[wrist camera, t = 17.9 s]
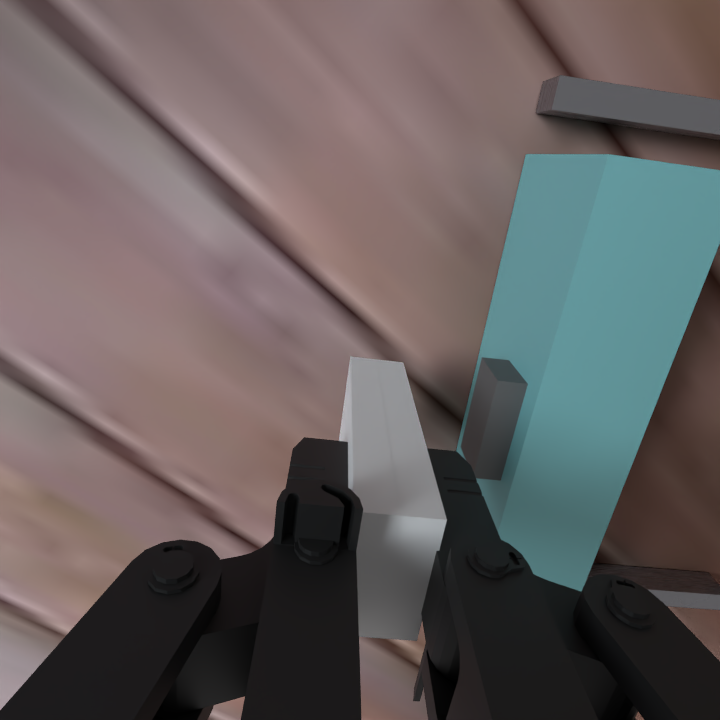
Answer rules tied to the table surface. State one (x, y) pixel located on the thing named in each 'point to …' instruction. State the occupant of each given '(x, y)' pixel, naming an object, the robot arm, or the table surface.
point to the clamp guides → (663, 116)
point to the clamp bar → (582, 343)
